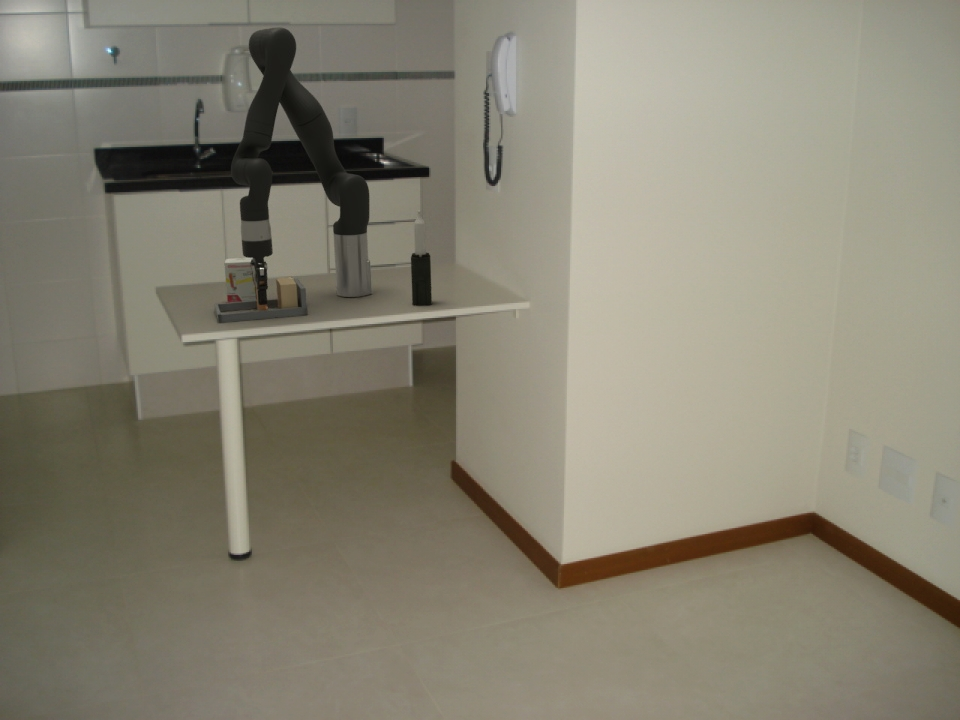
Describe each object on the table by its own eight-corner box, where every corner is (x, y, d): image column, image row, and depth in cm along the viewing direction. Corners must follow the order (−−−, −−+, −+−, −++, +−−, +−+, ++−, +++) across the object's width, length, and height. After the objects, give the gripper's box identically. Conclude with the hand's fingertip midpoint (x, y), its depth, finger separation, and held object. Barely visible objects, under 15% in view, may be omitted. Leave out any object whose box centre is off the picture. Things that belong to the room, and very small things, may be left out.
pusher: (264, 307, 266) (261, 277, 264) (268, 315, 256) (266, 285, 254) (256, 307, 265) (254, 278, 263) (260, 316, 256) (258, 285, 253)
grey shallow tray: (299, 303, 270) (297, 278, 268) (307, 314, 258) (305, 288, 256) (214, 311, 263) (212, 285, 261) (218, 322, 251) (216, 295, 249)
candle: (431, 300, 271) (429, 208, 264) (431, 305, 266) (428, 211, 259) (412, 301, 271) (409, 208, 264) (412, 305, 266) (409, 211, 259)
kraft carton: (293, 306, 268) (291, 277, 265) (298, 314, 259) (296, 283, 257) (278, 307, 266) (276, 278, 264) (282, 315, 258) (280, 285, 256)
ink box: (227, 305, 270) (223, 262, 266) (228, 301, 274) (224, 258, 271) (259, 303, 271) (256, 260, 268) (260, 299, 276) (256, 257, 272)
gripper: (275, 240, 250) (280, 307, 255) (268, 231, 263) (272, 295, 268) (244, 242, 248) (249, 309, 252) (238, 233, 261) (244, 297, 265)
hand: (261, 301), depth 260 cm, fingers closed on pusher, 5 cm apart
